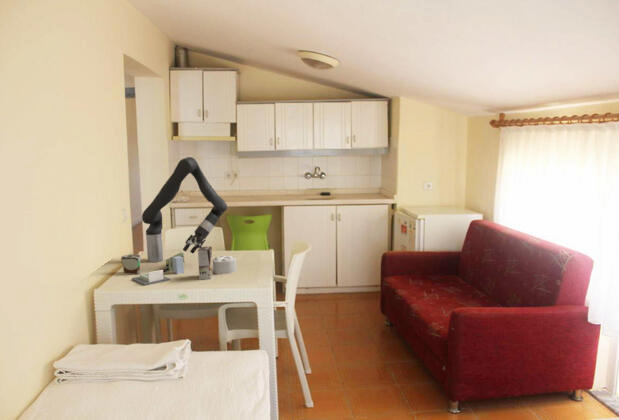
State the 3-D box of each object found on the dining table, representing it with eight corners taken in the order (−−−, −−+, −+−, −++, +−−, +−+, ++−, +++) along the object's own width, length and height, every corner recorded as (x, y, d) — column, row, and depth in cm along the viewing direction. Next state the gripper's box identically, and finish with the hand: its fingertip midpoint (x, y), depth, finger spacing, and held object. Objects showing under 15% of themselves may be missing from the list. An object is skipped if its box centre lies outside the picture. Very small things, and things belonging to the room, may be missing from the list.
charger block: (173, 272, 276) (172, 257, 275) (179, 271, 279) (179, 256, 278) (177, 274, 273) (176, 258, 272) (183, 272, 276) (182, 257, 274)
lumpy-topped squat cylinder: (212, 270, 279) (211, 255, 278) (234, 268, 283) (234, 253, 282) (215, 275, 269) (214, 259, 268) (238, 272, 273) (237, 257, 272)
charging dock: (132, 279, 263) (131, 269, 262) (156, 274, 272) (155, 264, 271) (144, 285, 251) (143, 274, 250) (169, 280, 260) (169, 269, 260)
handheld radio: (185, 262, 300) (166, 273, 276) (180, 263, 301) (161, 273, 276) (184, 252, 299) (165, 262, 275) (179, 252, 300) (159, 262, 275)
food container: (146, 271, 279) (145, 254, 278) (139, 274, 273) (138, 257, 272) (129, 270, 283) (128, 253, 282) (122, 273, 277) (120, 256, 276)
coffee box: (211, 279, 261) (209, 249, 259) (199, 279, 260) (197, 250, 258) (213, 274, 270) (211, 246, 268) (201, 275, 270) (199, 246, 267)
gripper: (193, 224, 288) (177, 246, 282) (206, 226, 278) (189, 249, 271) (202, 231, 292) (186, 253, 286) (214, 234, 282) (198, 257, 276)
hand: (187, 251), depth 279 cm, fingers open, 8 cm apart
